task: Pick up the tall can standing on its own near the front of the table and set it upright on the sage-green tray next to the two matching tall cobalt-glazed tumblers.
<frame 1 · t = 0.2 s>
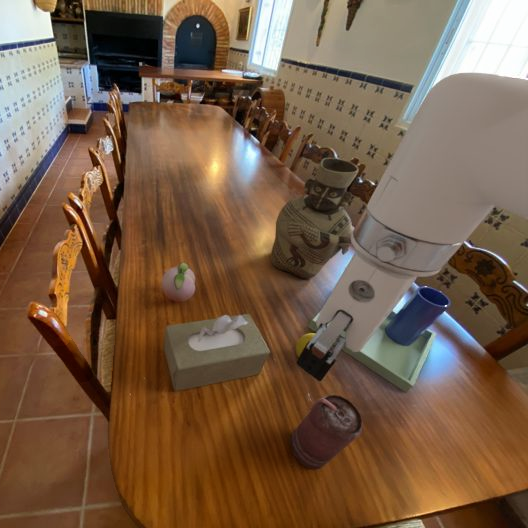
hand: (327, 348, 38), 24 cm above the table, tool pointing down, fingers open, 9 cm apart
tray: (369, 333, 71), on the table
can: (305, 449, 51), on the table
tumbler b: (355, 312, 76), resting on tray
ceramic vessel: (297, 260, 92), on the table
decorative fruit: (176, 298, 76), on the table
tissue box: (210, 362, 62), on the table
lemon: (303, 360, 64), on the table
tumbler a: (397, 336, 71), resting on tray
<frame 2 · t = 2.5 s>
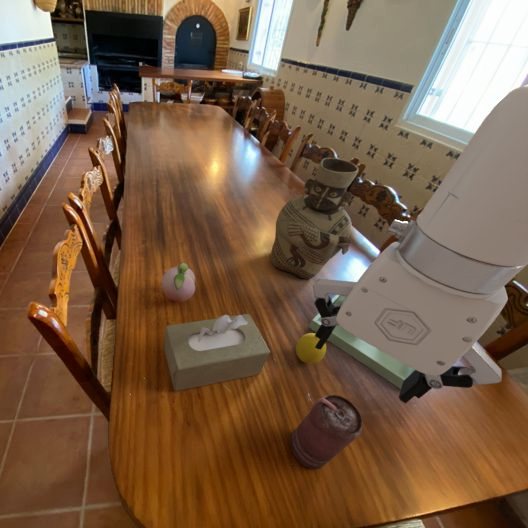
hand: (359, 365, 36), 24 cm above the table, tool pointing down, fingers open, 9 cm apart
nothing on the table moved.
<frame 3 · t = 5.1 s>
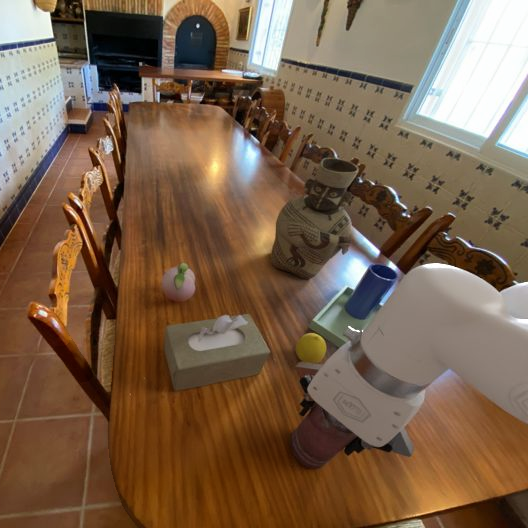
hand: (326, 426, 45), 9 cm above the table, tool pointing down, fingers closed on can, 6 cm apart
can: (305, 449, 51), on the table, touching gripper
everything else where it was.
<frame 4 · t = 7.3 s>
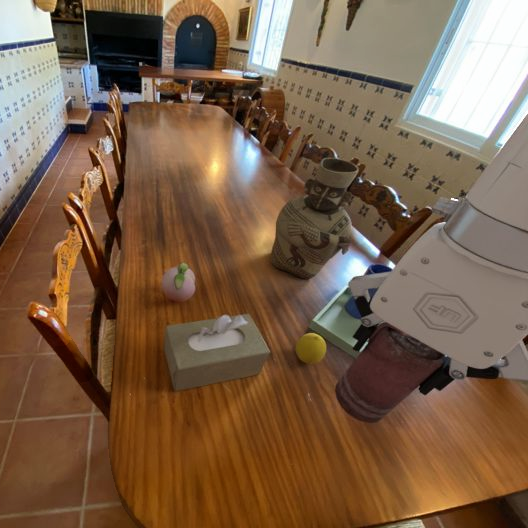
hand: (390, 362, 34), 26 cm above the table, tool pointing down, fingers closed on can, 6 cm apart
can: (355, 401, 40), point 17 cm above the table, touching gripper
everything else where it was.
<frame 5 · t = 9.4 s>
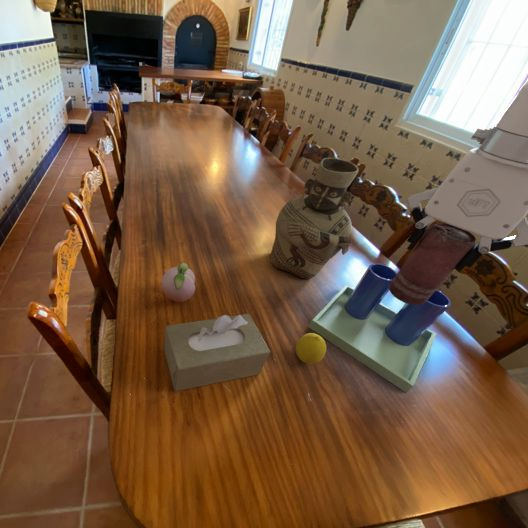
hand: (434, 256, 50), 27 cm above the table, tool pointing down, fingers closed on can, 6 cm apart
can: (404, 294, 56), point 18 cm above the table, touching gripper
everything else where it was.
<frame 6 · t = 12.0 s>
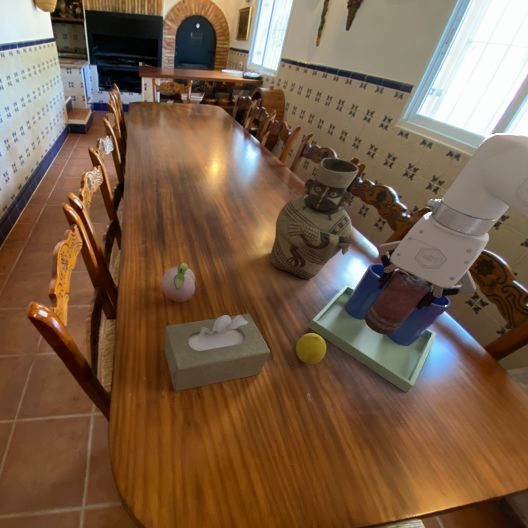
hand: (400, 295, 59), 16 cm above the table, tool pointing down, fingers closed on can, 6 cm apart
can: (377, 324, 65), point 7 cm above the table, touching gripper
everything else where it was.
when the fingers open (10 cm above the table, at t = 14.0 s): can stays where it is, resting on tray.
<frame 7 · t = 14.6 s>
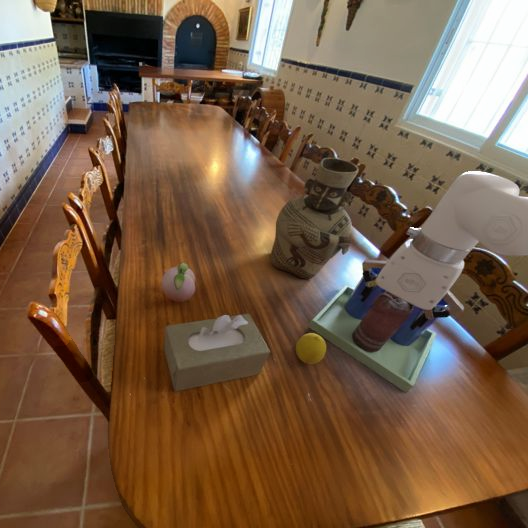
hand: (387, 311, 62), 11 cm above the table, tool pointing down, fingers open, 9 cm apart
can: (364, 342, 69), resting on tray
everything else where it was.
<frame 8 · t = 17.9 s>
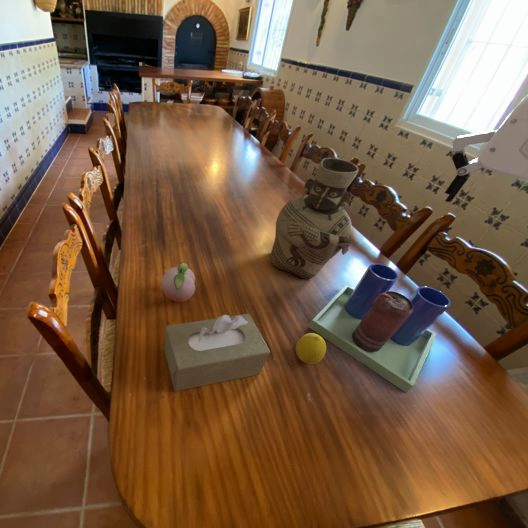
hand: (487, 212, 44), 36 cm above the table, tool pointing down, fingers open, 9 cm apart
nothing on the table moved.
at the end: can inside the target area in the tray (0.1 cm from its centre), point 0.4 cm above the tray's base; can tilted 0° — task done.
